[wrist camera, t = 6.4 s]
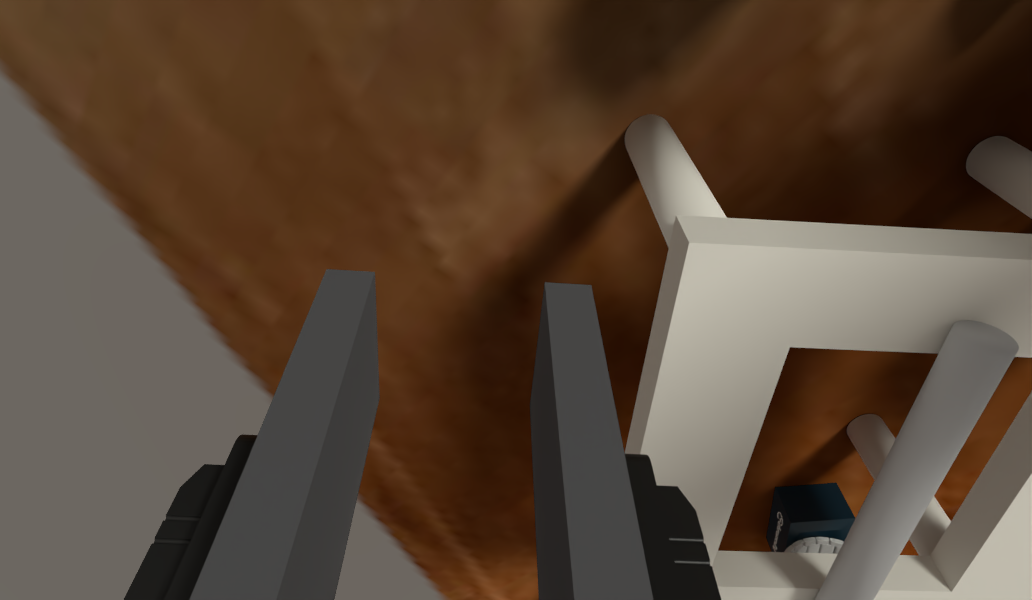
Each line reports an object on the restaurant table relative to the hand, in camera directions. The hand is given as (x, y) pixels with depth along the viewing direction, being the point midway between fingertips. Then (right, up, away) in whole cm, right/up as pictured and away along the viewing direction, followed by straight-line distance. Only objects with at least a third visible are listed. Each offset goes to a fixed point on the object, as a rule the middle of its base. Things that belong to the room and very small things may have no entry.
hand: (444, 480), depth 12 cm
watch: (+22, -12, +39) cm, 46 cm away
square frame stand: (+16, +3, +28) cm, 33 cm away
